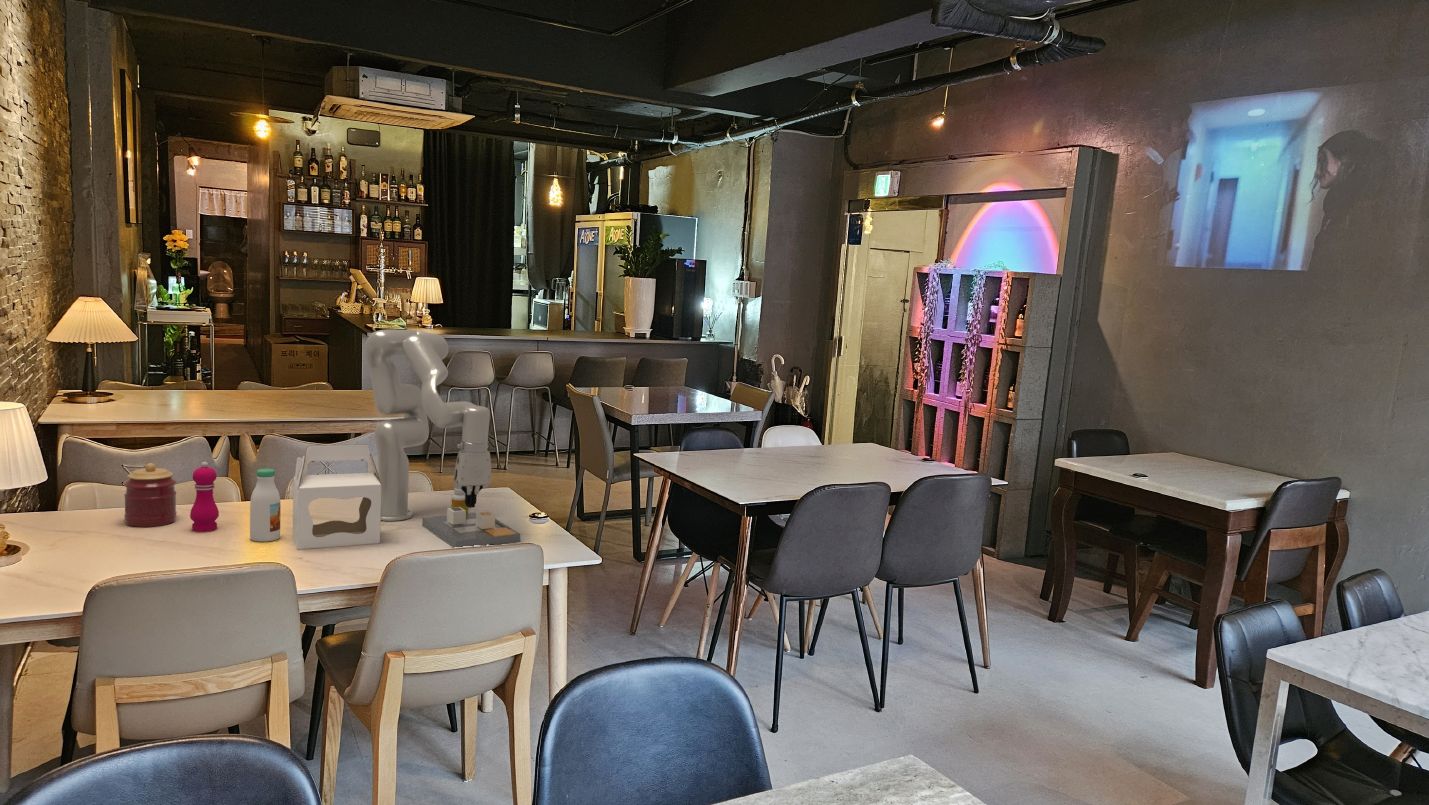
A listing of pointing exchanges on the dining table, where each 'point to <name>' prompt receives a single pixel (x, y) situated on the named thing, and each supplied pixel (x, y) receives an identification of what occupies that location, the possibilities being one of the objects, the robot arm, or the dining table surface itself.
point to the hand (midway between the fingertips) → (470, 506)
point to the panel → (469, 532)
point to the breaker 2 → (485, 520)
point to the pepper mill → (204, 500)
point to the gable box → (337, 488)
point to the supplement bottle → (459, 499)
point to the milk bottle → (265, 508)
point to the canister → (150, 497)
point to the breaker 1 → (456, 515)
